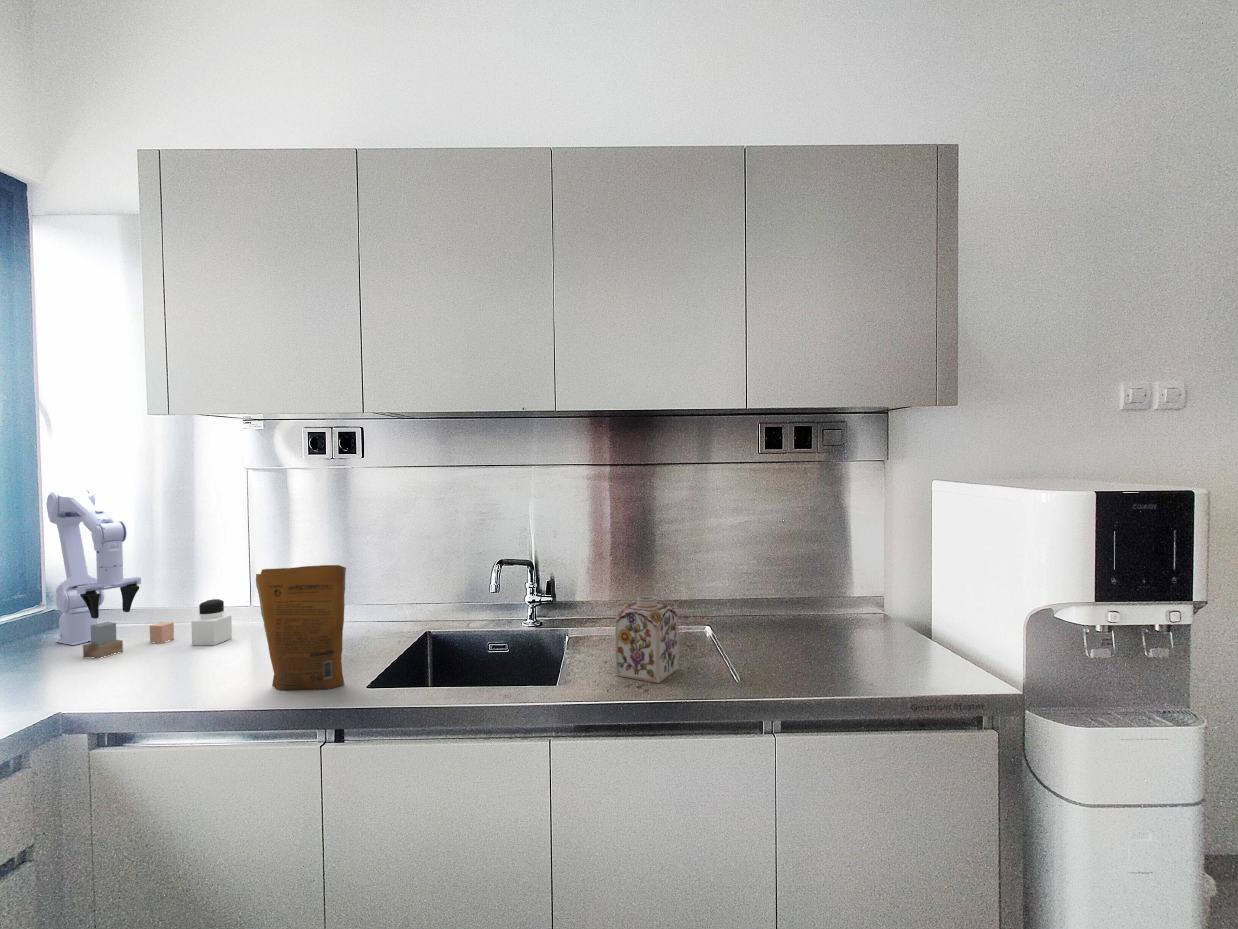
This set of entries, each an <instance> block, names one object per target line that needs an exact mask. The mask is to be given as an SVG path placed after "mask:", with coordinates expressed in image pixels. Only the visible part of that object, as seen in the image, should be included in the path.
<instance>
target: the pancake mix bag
mask: <svg viewBox="0 0 1238 929" xmlns="http://www.w3.org/2000/svg"><path fill="white" fill-rule="evenodd" d="M346 572H347V567H346V566H344V565H343V566H342V565H339V564H331V565H329V564H327V565H326V564H324V565H323V564H322V565H308V566H307V565H306V566H305V565H304V566H297V567H296V566H295V567H289V568H288V567H283V568H282V567H280V568H264V569H261V572H260V573H256V574H255V585H256V589H257V593H258V599H259V605H260V613H261V617H262V621H263V627H264V632H265V636H266V641H267V648H268V653H269V657H270V662H271V666H272V670H273V679H272V685H271V686H272V687H273V688H274V687H275V688H276V690H277V689H278V690H277V691H282V690H284V691H306V690H307V691H309V690H331V689H336V688H338V687H341V686H344V685H345V679H344V674H343V664H342V655H343V635H344V634H343V632H344V624H345V607H346V606H345V594H346V574H347V573H346ZM275 688H274V689H275Z"/></svg>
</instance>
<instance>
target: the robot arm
mask: <svg viewBox="0 0 1238 929" xmlns="http://www.w3.org/2000/svg"><path fill="white" fill-rule="evenodd" d="M45 503H46V505H45V506H46V510H47V511H46V512H47V517H48V519H49V523H52V524H55V526H56V527H57V530H58V531H57V532H58V537H59V543H60V548H61V549H60V550H61V553H62V559H63V564H64V565H63V566H64V571H65V575H66V579H65V580H64V581H63V582H61V583H60V584H59V585H58V586H57V587H56V589H55V593H56V594H55V595H56V596H55V597H56V598H55V604H56V607H57V609H58V611H60V612H61V613H62V614H61V615H60V616H59V618H58V629H59V630H58V633H59V634H58V637H59V639H56V640H55V643H59V644H64V645H69V646H75V645H81V644H85V643H89V642H88V641H90V642H91V625H95V624H98V619H99V616H100V612H99V610H100V606H102V604H103V603H104V601H105V590H110V589H111V590H112V589H116V588H119V589H120V592H121V599H122V600H121V601H122V603H121V604H122V606H121V607H122V612H123V613H130V612H131V608H132V604H133V601H134V598H135V596H136V594H137V593H138V591H139V589H140V585H142V577H140V576H135V577H126V578H124V561H123V560H124V558H123V557H124V554H123V552H124V551H123V542H125V541H126V539H127V535H128V534H127V533H128V532H127V527H126V525H125V523H124V522H123V521H122V520H121V521H115V520H114V519H112V518H111V517H110V515H108V513H107V512H106V511H104V510H103V509H98V508H97V507H96V506H95V505H96V498H95V494H94V493H93V492H92V491H91V490H84V491H82V490H80V491H60V492H57V491H52V492H50V493H49V494H48V495H47V497H46V502H45ZM81 523H83V525H84V527H86V528H87V529H88V530H89V532H91V541H92V542H93V549H94V550H93V551H95V552H96V553H95V555H96V556H95V557H96V577H94V576H91V575H89V572H88V567H87V562H86V556H85V550H84V546H83V545H84V544H83V539H82V535H81V534H82V533H81V528H80V524H81Z"/></svg>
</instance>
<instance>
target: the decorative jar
mask: <svg viewBox="0 0 1238 929" xmlns="http://www.w3.org/2000/svg"><path fill="white" fill-rule="evenodd" d="M657 600H658V599H657V597H656V596H653V595H645V596H644V595H643V596H638V597H637V598H636V602H630V603H627V604H624V605H623V606H622V607H621V609H620V611H619V613H618V615H617V616H616V618H615V620H614V621H615V625H614V626H615V627H614V628H615V629H614V630H615V632H614V633H615V634H614V648H615V649H614V653H615V654H614V656H615V658H614V659H615V661H614V663H615V675H616V676H617V677H621V678H628V679H632V680H638V681H644V682H649V683H653V684H654V683H655V684H660V683H661V682H663V681H665V679H667V678H669V677H670V676H671V675H672V674H674V673H675V672H677V671H678V670H679V667H680V644H679V643H680V642H679V639H680V638H679V615H678V613H677V611H675V609H674V608H673V606H670V605H669V604H667V603H665V602H659V601H657Z"/></svg>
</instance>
